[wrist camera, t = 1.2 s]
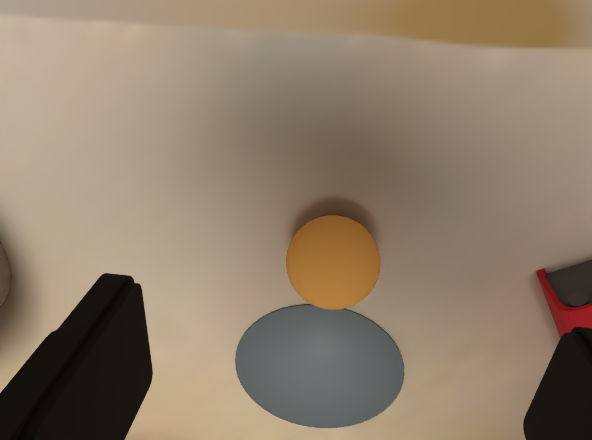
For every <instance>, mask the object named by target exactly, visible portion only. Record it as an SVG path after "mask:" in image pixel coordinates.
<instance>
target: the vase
mask: <svg viewBox="0 0 592 440" xmlns="http://www.w3.org/2000/svg"><path fill="white" fill-rule="evenodd" d="M10 284H11V271H10V265H9V262H8V259H7V257H6V254H5V251H4V249H3V247H2V245H1V243H0V306H1V305H2V303H3V302H4V300H5V299H6V298H7V295H8V292H9V290H10Z"/></svg>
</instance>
